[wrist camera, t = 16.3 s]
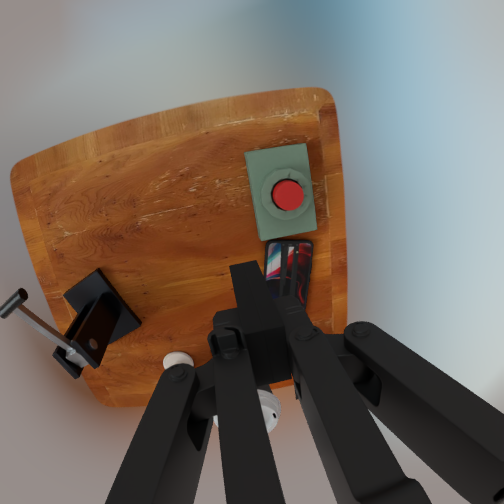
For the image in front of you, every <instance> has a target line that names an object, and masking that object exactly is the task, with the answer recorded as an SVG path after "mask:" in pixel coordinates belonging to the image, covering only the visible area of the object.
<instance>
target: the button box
mask: <svg viewBox="0 0 504 504" xmlns="http://www.w3.org/2000/svg"><path fill="white" fill-rule="evenodd" d="M244 155H245V160H246V166H247V172H248V177H249V183H250V189H251V194H252V200H253V206H254V212H255V218H256V223H257V229H258V235H259V238H260V239H261V241H264V240H269V239H274V238H279V237H284V236H289V235H293V234H298V233H303V232H308V231H313V230H317V223H316V214H315V206H314V198H313V190H312V182H311V174H310V167H309V160H308V153H307V146H306V143H301V144H293V145H286V146H279V147H273V148H266V149H260V150H254V151H248V152H244ZM284 180H289V181H293V182H295V183H297V184H298V185H300V187H301V188H302V190H303V193H304V198H303V202H302V204H301V205H300V206H299V207H298V208H297V209H295V210H291V211H287V210H284V209H282V208H280V207H279V206H278V205H277V204H276V203H275V201H274V199H273V190H274V188H275V186H276V185H277V184H278V183H279V182H281V181H284Z"/></svg>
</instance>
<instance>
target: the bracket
mask: <svg viewBox="0 0 504 504" xmlns="http://www.w3.org/2000/svg"><path fill="white" fill-rule="evenodd" d="M63 296H64V297H65V298H66V300H67V301H68V302H69V304H70V305H71V306H72V307H73V308H74V310H75V311H76V312H77V313H78V314H77V315H76V317H75V319H74V320H73V322H72V323H71V325H70V326H69V328H68V330H67V331H66V333H65V334H64V336H65V337H66V338H67V339H69V340H70V341H71V340H72V342H71V345H72V346H73V347H74V348H75V349H76V350H77V352H78V353H79V354H80V355H81V356H82V357H83V358H84V359H85V360H86V361H87V362H88V363H89V364H90V365H91V366H92V367H93V368H94V369H96V368H97V367H99V366H100V363H101V361H102V358H103V356H104V353H105V351H106V348H107V346H108V345H109V344H111V343H112V342H114V341H116V340H117V339H119V338H121V337H123V336H124V335H126V334H128V333H130V332H131V331H133V330H135V329H137V328H138V327H140V326H141V323H142V322H141V321H140V319H139V318H138V317H137V316H136V315H135V313H134V312H133V311H132V310H131V309H130V307H129V306H128V305H127V304H126V302H125V301H124V300H123V299H122V297H121V296H120V295H119V294H118V292H117V291H116V290H115V288H114V287H113V286H112V284H111V283H110V282H109V281H108V279H107V278H106V277H105V275H104V274H103V273H102V271H101V270H100V269H99V268H98V269H96V270H95V271H93V272H92V273H91V274H89V275H88V276H87V277H85V278H84V279H83V280H81V281H80V282H78V283H77V284H76V285H74V286H73V287H72V288H70V289H69V290H68V291H66V292H65V294H64V295H63ZM52 356H53V357H54V358H55V359H56V360H57V361H58V362H59V363H60V364H61V365H62V366H63V367H64V369H65V370H66V371H67V372H68V373H69V374H71V376H72V377H73V378H74V379H77V378H79V377H80V375H81V373H82V370H83V368H84V367H82V368H81V367H79V366H78V365H76V364H74V363H73V362H71V361H70V360H68V359H66V350H65V349H63V348H62V347H60V346H59V345H58V346H57V348H56V349H55V352H54V353H53V355H52Z"/></svg>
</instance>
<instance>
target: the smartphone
mask: <svg viewBox="0 0 504 504" xmlns="http://www.w3.org/2000/svg"><path fill="white" fill-rule="evenodd" d="M312 255H313V243H312V242H311V241H310V240H269V241H268V242H267V243H266V247H265V262H264V279H265V281H266V284H267V286H268V288H269V291H270V293H271V295H272V298H273V299H275V298H279V297H284V296H288V295H292V296H294V297H295V298H297V299H298V300H299V302H300V303H301V306H302V307H303V309H304V311H305V308H306V301H307V294H308V287H309V282H310V274H311V268H312Z"/></svg>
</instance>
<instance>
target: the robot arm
mask: <svg viewBox="0 0 504 504" xmlns="http://www.w3.org/2000/svg"><path fill="white" fill-rule="evenodd" d="M229 267H230V272H231V277H232V282H233V287H234V292H235V297H236V302H237V307H238V308H233V309H228V310H223V311H218V312H216V314H215V316H214V317H213V329H214V330H212V331H211V332H210V333H209V335H208V338H207V340H208V343H209V346H210V349H211V353H212V356H213V358H212V359H211V360H210V361H209V362H207V363H206V364H204V365H202V366H200V367H197V368H195V369H194V367H193V366H192V365H190V364H185V363H180V364H175V365H172V366H170V367H169V368H167V369H166V370H165V371H164V372H163V373H162V375H161V377H160V379H159V381H158V383H157V386H156V388H155V390H154V392H153V394H152V397H151V399H150V401H149V403H148V405H147V408H146V410H145V413H144V414H143V416H142V419H141V421H140V423H139V425H138V428H137V430H136V432H135V435H134V437H133V439H132V441H131V444H130V446H129V449H128V450H127V453H126V455H125V457H124V460H123V462H122V464H121V467H120V469H119V471H118V474H117V476H116V478H115V481H114V483H113V486H112V488H111V490H110V493H109V495H108V497H107V500H106V502H105V504H193V503H194V499H195V495H196V491H197V487H198V483H199V478H200V474H201V470H202V466H203V462H204V458H205V454H206V450H207V445H208V441H209V437H210V433H211V429H212V425H213V421H214V416H216V415H217V419H218V429H219V440H220V450H221V459H222V469H223V477H224V486H225V494H226V502H227V504H286V503H285V499H284V495H283V491H282V488H281V484H280V480H279V476H278V472H277V468H276V465H275V461H274V456H273V452H272V448H271V444H270V440H269V436H268V432H267V428H266V424H265V420H264V416H263V411H262V407H261V403H260V399H259V395H258V391H257V387H259V386H263V385H268V384H272V383H276V382H280V381H284V380H288V379H292V376H293V379H294V387H295V394H296V399H299V401H300V404H301V406H302V409H303V412H304V414H305V417H306V420H307V423H308V425H309V428H310V431H311V434H312V436H313V439H314V442H315V444H316V447H317V450H318V452H319V455H320V458H321V460H322V463H323V466H324V468H325V471H326V474H327V477H328V479H329V482H330V485H331V487H332V490H333V493H334V496H335V498H336V501H337V504H432V503H431V501H430V499H429V498H428V496H427V494H426V492H425V491H424V489H423V487H422V486H421V485H420V483H419V482H418V481H416V480H415V479H411V478H408V477H407V476H406V475H405V474H404V472H403V471H402V469H401V467H400V465H399V463H398V462H397V460H396V458H395V456H394V455H393V453H392V451H391V449H390V447H389V446H388V444H387V442H386V440H385V439H384V437H383V435H382V433H381V432H380V430H379V428H378V426H377V424H376V423H375V421H374V419H373V417H372V416H371V414H370V412H369V411H368V409H369V410H370V411H371V412H372V413H373V414H374V415H375V416H376V417H377V418H378V419H379V420H380V421H381V422H382V423H383V424H384V425H385V426H386V427H387V428H389V430H391V432H393V433H394V434H395V435H396V436H397V437H398V438H399V439H400V440H401V441H402V442H403V443H404V444H405V445H406V446H407V447H409V449H411V450H412V451H413V452H414V453H415V454H416V455H417V456H418V457H419V458H420V459H421V460H422V461H423V462H425V463H426V464H427V465H428V466H429V467H430V468H431V469H432V470H433V471H434V472H435V473H437V474H438V475H439V476H440V477H441V478H442V479H443V480H444V481H445V482H446V483H448V484H449V485H450V486H451V487H452V488H453V489H454V490H456V492H458V493H459V494H460V495H461V496H462V497H463V498H465V499H466V500H467V501H469V502H470V503H471V504H504V414H503V413H501V412H500V411H498V410H497V409H496V408H494V407H493V406H492V405H490V404H489V403H487V402H486V401H484V400H483V399H482V398H480V397H479V396H477V395H476V394H474V393H473V392H471V391H470V390H469V389H467V388H466V387H464V386H463V385H461V384H460V383H459V382H457V381H456V380H454V379H453V378H451V377H450V376H448V375H447V374H446V373H444V372H443V371H441V370H440V369H438V368H437V367H435V366H434V365H432V364H431V363H430V362H428V361H427V360H425V359H424V358H422V357H421V356H419V355H418V354H417V353H415V352H414V351H412V350H411V349H409V348H408V347H406V346H405V345H403V344H402V343H400V342H399V341H398V340H396V339H395V338H393V337H392V336H390V335H389V334H387V333H386V332H384V331H383V330H381V329H380V328H379V327H377V326H376V325H374V324H372V323H369V322H363V321H361V322H354V323H351V324H349V325H348V326H347V327H346V328H345V330H344V334H324V333H323V332H322V330H320V329H319V328H318V327H315V326H313V324H312V322H311V321H310V319H309V317H308V315H307V314H306V312H305V311H304V309H303V307H302V306H301V303H300V302H299V300H298V299H297V298H295V297H294V296H292V295H288V296H284V297H279V298H275V299H273V298H272V295H271V293H270V291H269V288H268V286H267V284H266V281H265V279H264V277H263V274H262V272H261V270H260V267H259V265H258V263H257V260H254V261H250V262H245V263H240V264H235V265H231V266H229ZM291 373H292V376H291ZM367 408H368V409H367Z"/></svg>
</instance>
